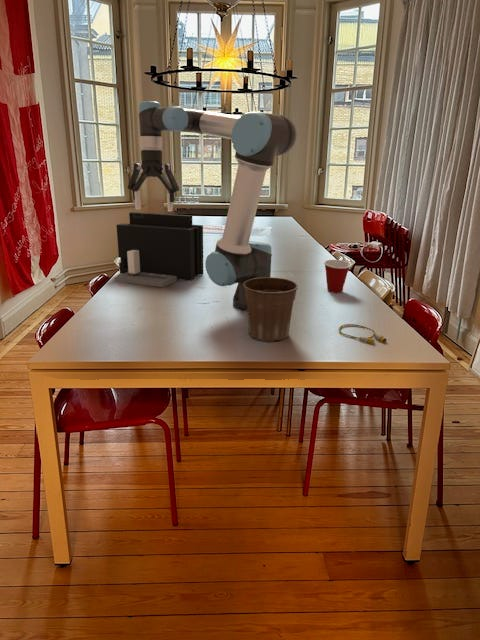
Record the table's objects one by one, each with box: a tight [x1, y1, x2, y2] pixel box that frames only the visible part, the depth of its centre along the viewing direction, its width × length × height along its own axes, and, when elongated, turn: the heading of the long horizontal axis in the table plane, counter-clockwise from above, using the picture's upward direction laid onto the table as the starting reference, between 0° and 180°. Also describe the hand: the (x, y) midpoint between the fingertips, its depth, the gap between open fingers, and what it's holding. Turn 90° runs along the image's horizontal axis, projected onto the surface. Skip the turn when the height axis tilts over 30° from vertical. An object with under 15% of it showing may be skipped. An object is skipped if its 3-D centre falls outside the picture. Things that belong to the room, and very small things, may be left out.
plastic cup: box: [323, 259, 352, 294], centre depth 187 cm, size 11×11×12 cm
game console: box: [115, 211, 204, 282], centre depth 214 cm, size 35×30×27 cm
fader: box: [127, 250, 141, 276], centre depth 198 cm, size 6×3×10 cm, turn 160°
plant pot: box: [243, 276, 299, 343], centre depth 139 cm, size 16×16×16 cm
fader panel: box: [114, 272, 178, 288], centre depth 198 cm, size 12×23×2 cm, turn 70°
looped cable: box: [338, 323, 387, 345], centre depth 143 cm, size 12×16×2 cm
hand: (154, 210), depth 172 cm, fingers open, 13 cm apart
